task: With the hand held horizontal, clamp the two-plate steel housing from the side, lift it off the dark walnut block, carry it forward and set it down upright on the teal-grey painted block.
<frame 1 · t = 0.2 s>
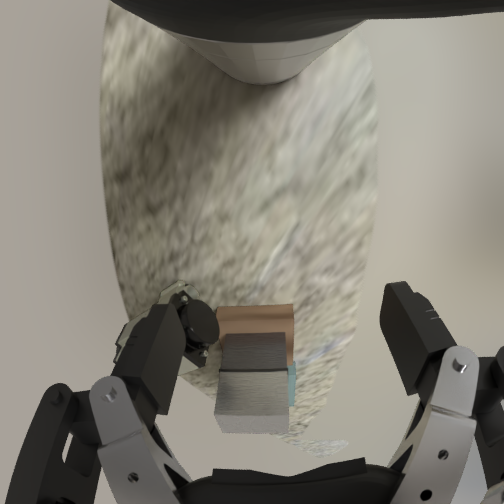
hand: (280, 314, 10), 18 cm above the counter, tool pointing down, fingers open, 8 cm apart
stand a: (257, 331, 35), on the counter
pneumatic valve: (178, 290, 33), on the counter
stand b: (263, 380, 41), on the counter
housing: (256, 345, 33), point 2 cm above the counter, touching stand a
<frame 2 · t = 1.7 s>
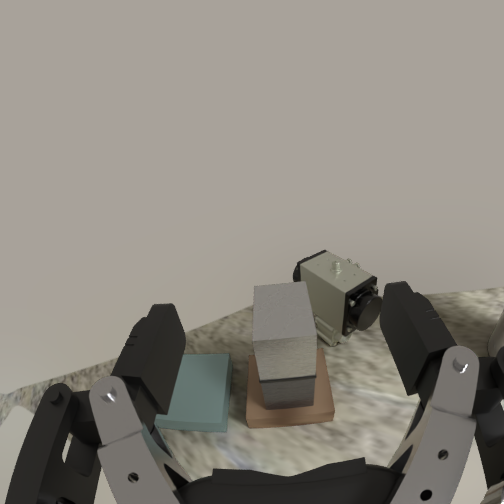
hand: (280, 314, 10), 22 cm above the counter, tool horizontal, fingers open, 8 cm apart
stand a: (289, 393, 29), on the counter
pneumatic valve: (334, 334, 36), on the counter
stand b: (190, 396, 30), on the counter
housing: (288, 382, 28), point 2 cm above the counter, touching stand a
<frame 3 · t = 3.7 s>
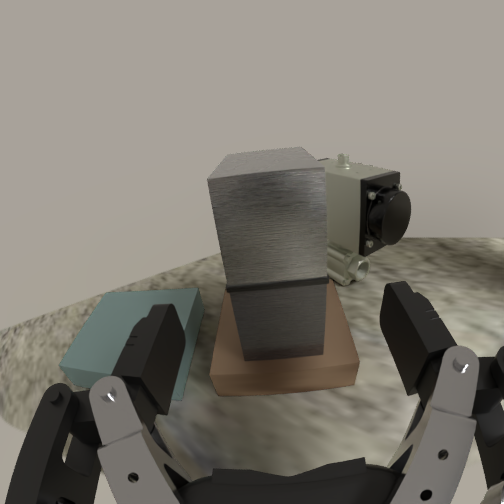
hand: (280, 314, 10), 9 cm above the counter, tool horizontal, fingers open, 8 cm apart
stand a: (283, 344, 20), on the counter
pneumatic valve: (345, 274, 28), on the counter
stand b: (139, 347, 21), on the counter
housing: (281, 320, 19), point 2 cm above the counter, touching stand a
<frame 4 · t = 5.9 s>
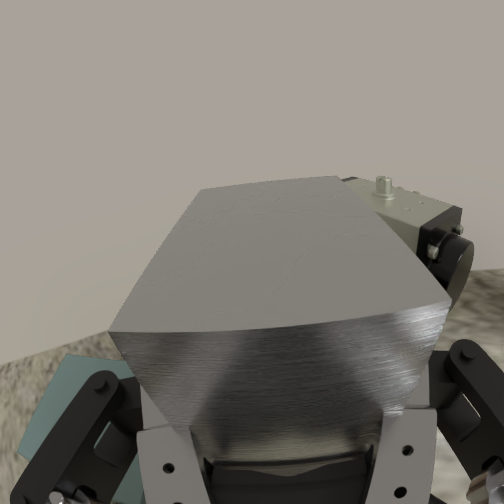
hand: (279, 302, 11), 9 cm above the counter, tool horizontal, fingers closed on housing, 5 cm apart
pneumatic valve: (370, 331, 20), on the counter
stand b: (107, 433, 14), on the counter
housing: (289, 432, 11), point 3 cm above the counter, touching gripper, stand a
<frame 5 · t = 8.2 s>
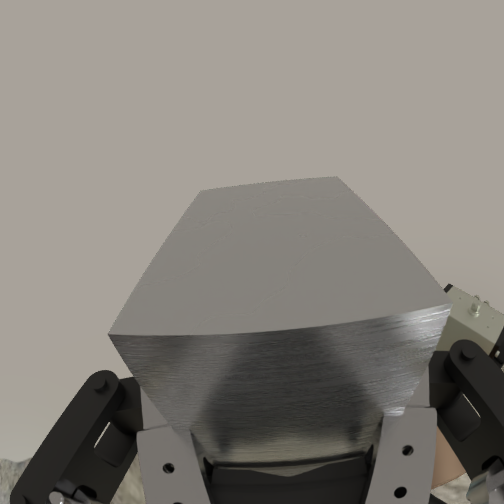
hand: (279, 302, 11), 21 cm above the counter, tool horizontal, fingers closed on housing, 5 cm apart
stand a: (411, 457, 17), on the counter
pneumatic valve: (441, 378, 25), on the counter
housing: (290, 433, 11), point 14 cm above the counter, touching gripper
when the fingers open (10 cm above the counter, at t = 10.8 s): housing stays where it is, resting on stand b.
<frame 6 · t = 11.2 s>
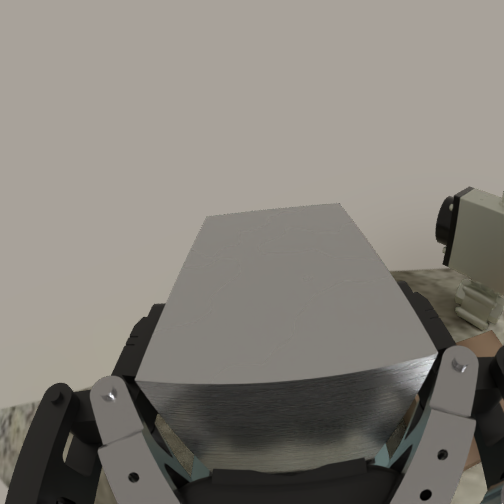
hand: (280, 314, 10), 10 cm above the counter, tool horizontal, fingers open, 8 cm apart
stand a: (461, 411, 12), on the counter
pneumatic valve: (475, 314, 19), on the counter
stand b: (290, 453, 13), on the counter
housing: (291, 441, 12), point 2 cm above the counter, touching stand b
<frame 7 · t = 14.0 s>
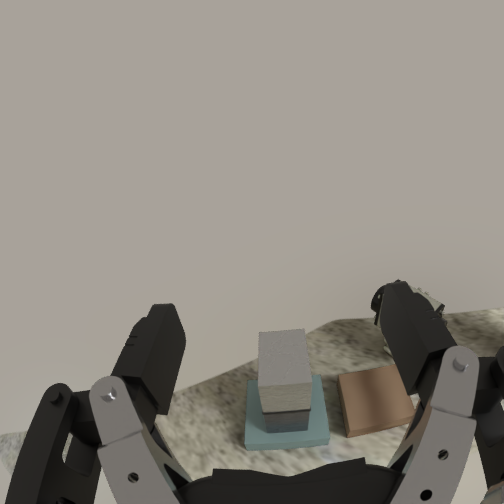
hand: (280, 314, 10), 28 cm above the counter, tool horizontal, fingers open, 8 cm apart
stand a: (373, 404, 31), on the counter
pneumatic valve: (398, 350, 38), on the counter
stand b: (286, 416, 32), on the counter
housing: (286, 408, 31), point 2 cm above the counter, touching stand b
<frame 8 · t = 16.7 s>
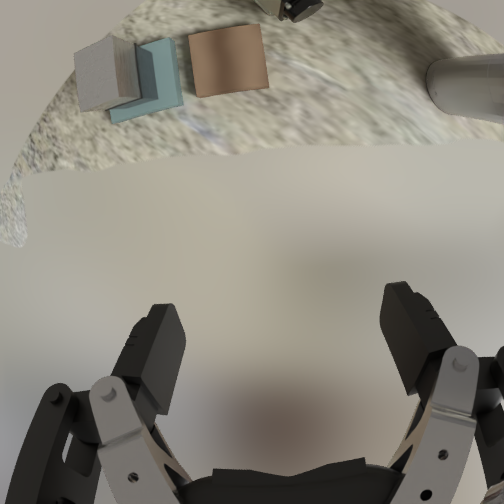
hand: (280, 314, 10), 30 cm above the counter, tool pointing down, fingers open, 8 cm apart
stand a: (229, 61, 30), on the counter
pneumatic valve: (273, 2, 25), on the counter
stand b: (145, 81, 31), on the counter
housing: (138, 80, 29), point 2 cm above the counter, touching stand b
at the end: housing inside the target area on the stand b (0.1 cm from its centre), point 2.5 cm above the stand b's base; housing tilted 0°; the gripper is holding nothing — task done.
